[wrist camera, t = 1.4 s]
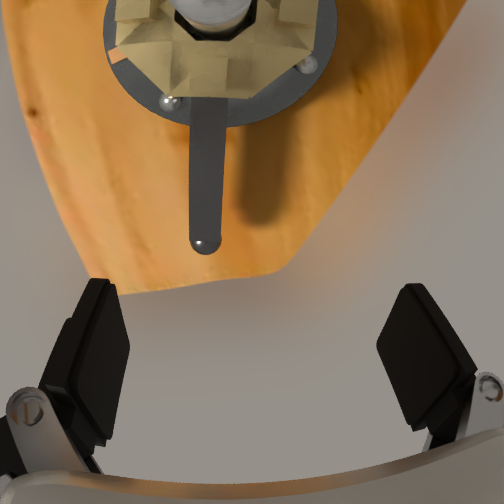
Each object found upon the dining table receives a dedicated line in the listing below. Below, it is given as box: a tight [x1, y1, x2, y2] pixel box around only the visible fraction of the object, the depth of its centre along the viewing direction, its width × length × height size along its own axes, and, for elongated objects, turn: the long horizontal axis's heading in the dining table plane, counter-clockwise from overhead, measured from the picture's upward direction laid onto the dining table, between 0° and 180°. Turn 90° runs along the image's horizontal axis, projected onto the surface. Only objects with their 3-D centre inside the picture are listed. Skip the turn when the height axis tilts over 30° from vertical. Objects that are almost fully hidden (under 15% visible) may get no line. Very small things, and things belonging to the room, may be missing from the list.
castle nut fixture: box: [115, 0, 318, 255], centre depth 19 cm, size 25×12×7 cm, turn 175°
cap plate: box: [103, 0, 338, 127], centre depth 15 cm, size 18×18×13 cm
